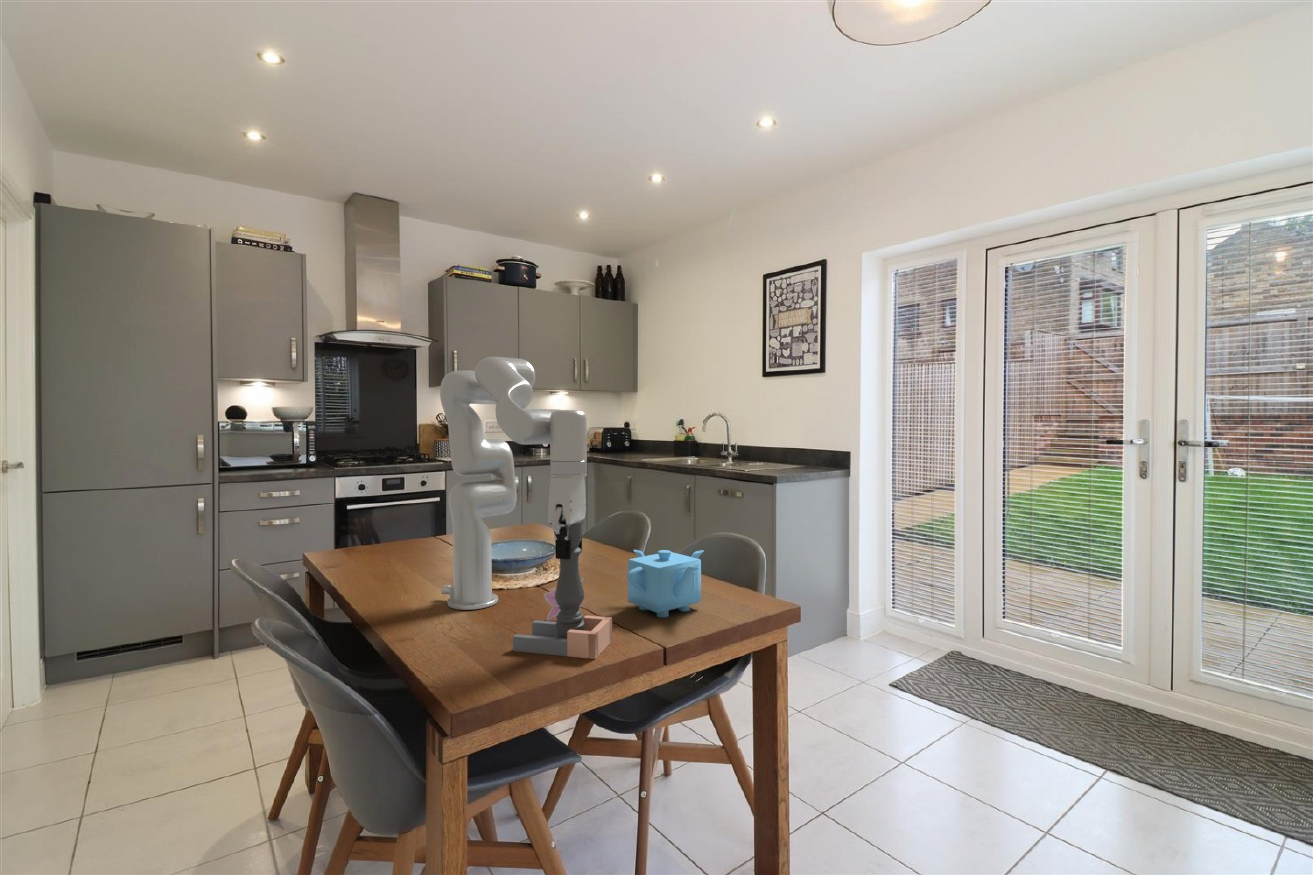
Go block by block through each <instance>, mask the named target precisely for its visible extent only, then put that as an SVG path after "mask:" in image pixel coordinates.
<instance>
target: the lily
mask: <svg viewBox="0 0 1313 875" xmlns="http://www.w3.org/2000/svg"><path fill="white" fill-rule="evenodd" d="M580 578H581V582H582V583H583V582H584V580H585V579H584V577H580ZM555 591H556V589H555V590H550V591H548V592H546V593H544V594H543V598H544V599H545V601H546V602H547V603H548V604H549V605H550V606H551V609H550V610H549V611H548V614H547V616H546V620H545V621H550V620H551V619H553V618H555V617H556V616H557V615H558V613H559V612H560V611H561V610H560V609H559V605H558V604H557V602H556V599H555ZM583 606H584V604H583V602H582V603H581V604H580V608H582V607H583Z"/></svg>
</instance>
